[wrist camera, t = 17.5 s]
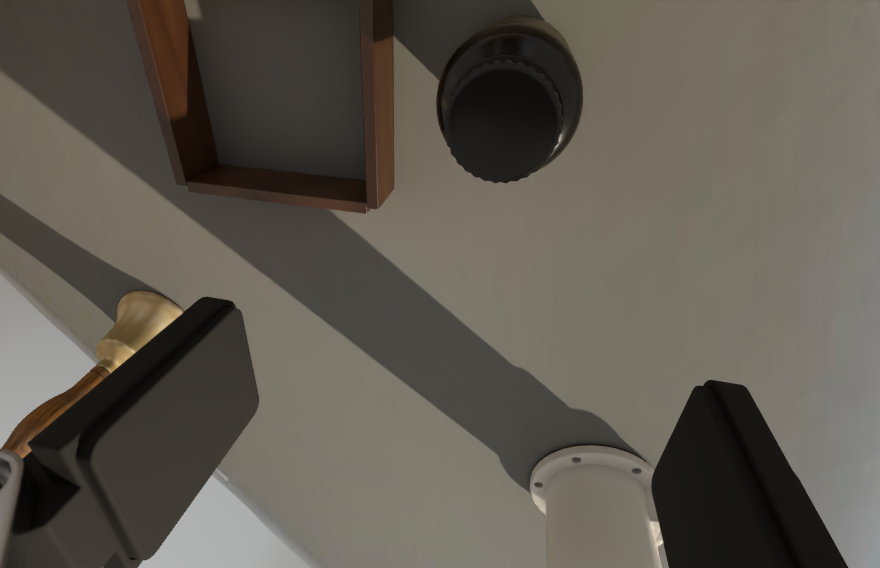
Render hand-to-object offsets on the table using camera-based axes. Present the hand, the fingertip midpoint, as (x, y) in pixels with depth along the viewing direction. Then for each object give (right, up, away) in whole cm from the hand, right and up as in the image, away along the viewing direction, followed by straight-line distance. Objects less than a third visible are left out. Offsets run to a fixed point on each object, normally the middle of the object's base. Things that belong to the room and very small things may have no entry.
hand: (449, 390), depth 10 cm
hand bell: (-28, -2, +36) cm, 46 cm away
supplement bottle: (+4, +15, +19) cm, 24 cm away
